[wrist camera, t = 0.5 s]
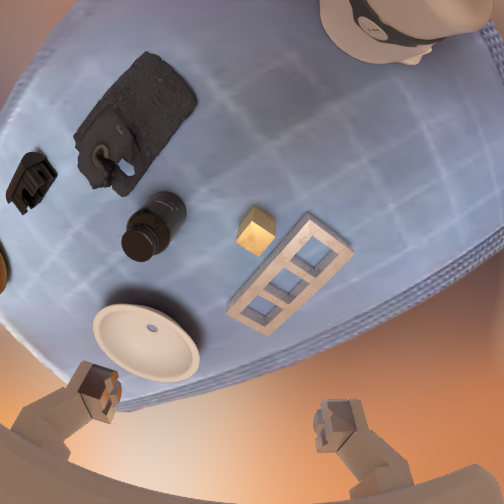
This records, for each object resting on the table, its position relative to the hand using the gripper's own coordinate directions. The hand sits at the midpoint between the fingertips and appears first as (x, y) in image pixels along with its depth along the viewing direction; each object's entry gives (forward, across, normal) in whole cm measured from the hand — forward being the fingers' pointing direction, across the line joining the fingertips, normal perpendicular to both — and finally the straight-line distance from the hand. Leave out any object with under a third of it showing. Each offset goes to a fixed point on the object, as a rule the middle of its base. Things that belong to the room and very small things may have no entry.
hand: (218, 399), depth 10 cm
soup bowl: (+40, +17, +33) cm, 55 cm away
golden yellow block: (+36, -2, +5) cm, 37 cm away
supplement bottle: (+37, +13, +5) cm, 40 cm away
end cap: (+38, +41, +1) cm, 55 cm away
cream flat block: (+37, -9, +14) cm, 41 cm away
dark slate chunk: (+36, +19, -8) cm, 42 cm away
